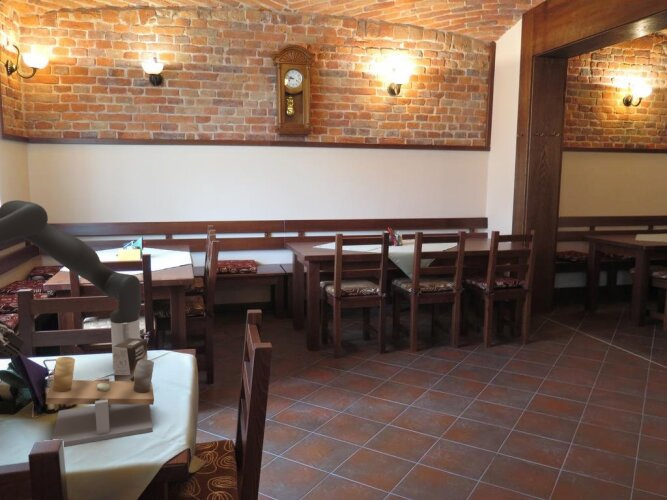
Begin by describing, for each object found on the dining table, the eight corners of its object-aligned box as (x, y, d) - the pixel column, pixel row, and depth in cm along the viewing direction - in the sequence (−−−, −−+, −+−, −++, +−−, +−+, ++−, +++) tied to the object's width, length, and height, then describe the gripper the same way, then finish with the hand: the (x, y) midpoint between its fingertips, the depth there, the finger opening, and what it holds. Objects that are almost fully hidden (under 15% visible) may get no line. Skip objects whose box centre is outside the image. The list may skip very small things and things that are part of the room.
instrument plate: (45, 404, 131) (49, 368, 130) (51, 384, 143) (55, 350, 142) (153, 405, 141) (158, 371, 140) (150, 386, 153) (155, 355, 153)
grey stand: (51, 448, 131) (48, 411, 129) (59, 414, 148) (56, 382, 146) (152, 431, 139) (150, 397, 138) (148, 401, 157) (147, 370, 155)
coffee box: (133, 399, 158) (130, 348, 156) (114, 397, 160) (111, 346, 157) (149, 386, 167) (147, 338, 164) (131, 385, 168) (129, 337, 166)
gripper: (-35, 307, 121) (26, 348, 127) (-20, 293, 134) (35, 331, 140) (-60, 332, 120) (3, 372, 126) (-42, 315, 133) (14, 352, 139)
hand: (20, 350), depth 133 cm, fingers open, 8 cm apart
